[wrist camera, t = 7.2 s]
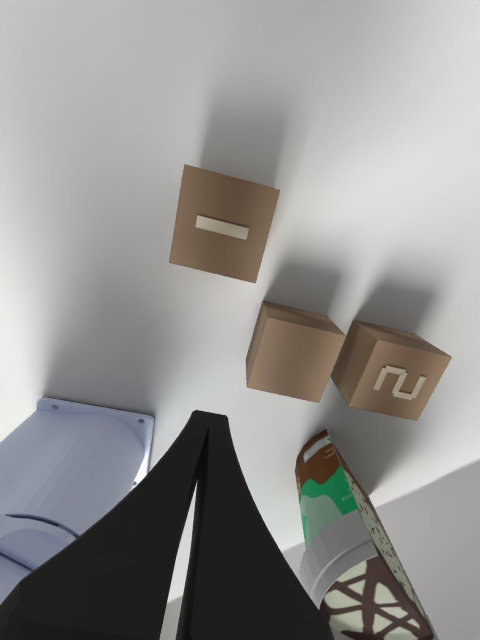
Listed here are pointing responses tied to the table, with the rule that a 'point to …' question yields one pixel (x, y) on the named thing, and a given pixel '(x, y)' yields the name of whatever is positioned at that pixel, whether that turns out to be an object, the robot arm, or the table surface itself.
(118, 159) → the table surface
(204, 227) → the block one
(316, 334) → the plain block
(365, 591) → the food container
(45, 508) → the robot arm
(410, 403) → the block two
